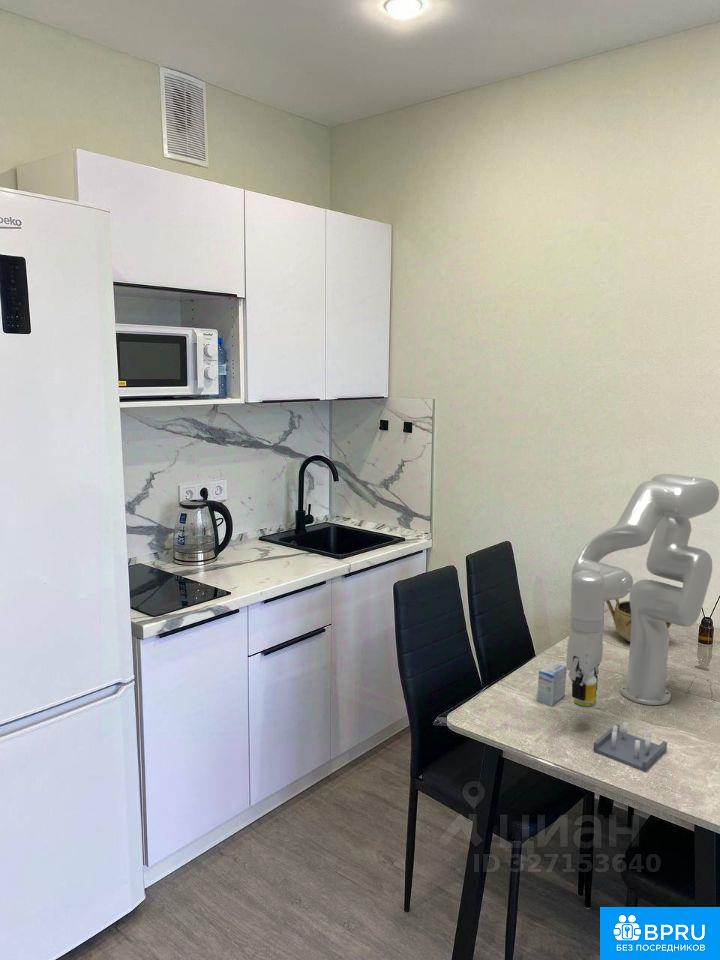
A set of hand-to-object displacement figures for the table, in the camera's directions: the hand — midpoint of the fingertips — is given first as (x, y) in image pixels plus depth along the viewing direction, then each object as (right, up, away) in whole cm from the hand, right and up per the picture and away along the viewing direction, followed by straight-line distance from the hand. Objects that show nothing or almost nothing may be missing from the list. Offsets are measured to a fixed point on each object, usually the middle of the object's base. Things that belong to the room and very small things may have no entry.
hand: (584, 693), depth 174 cm
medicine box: (-4, -7, +17) cm, 18 cm away
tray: (+8, -11, -9) cm, 16 cm away
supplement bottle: (0, -3, +1) cm, 3 cm away
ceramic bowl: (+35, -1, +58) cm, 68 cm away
